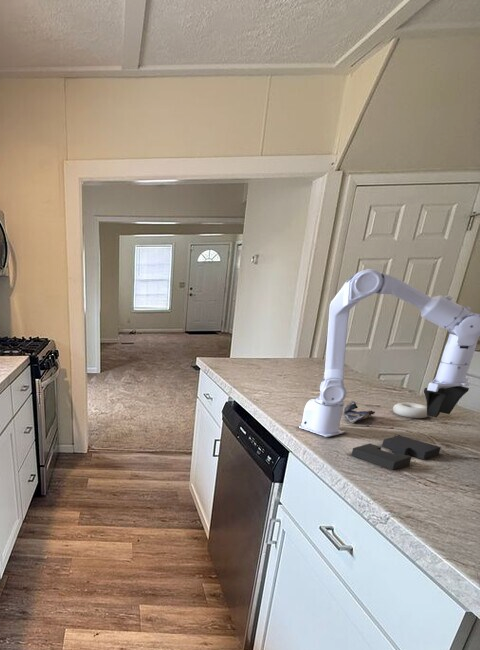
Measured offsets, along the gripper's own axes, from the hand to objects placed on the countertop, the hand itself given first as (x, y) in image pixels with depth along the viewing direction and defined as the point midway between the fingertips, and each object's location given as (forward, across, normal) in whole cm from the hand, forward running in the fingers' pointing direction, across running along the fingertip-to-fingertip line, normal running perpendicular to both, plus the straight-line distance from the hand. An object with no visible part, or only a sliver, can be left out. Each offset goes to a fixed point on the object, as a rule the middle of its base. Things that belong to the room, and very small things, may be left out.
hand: (438, 414), depth 106 cm
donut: (+9, +24, +17) cm, 30 cm away
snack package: (+9, +4, +23) cm, 25 cm away
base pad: (+8, -22, 0) cm, 24 cm away
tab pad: (+8, -9, 0) cm, 12 cm away
